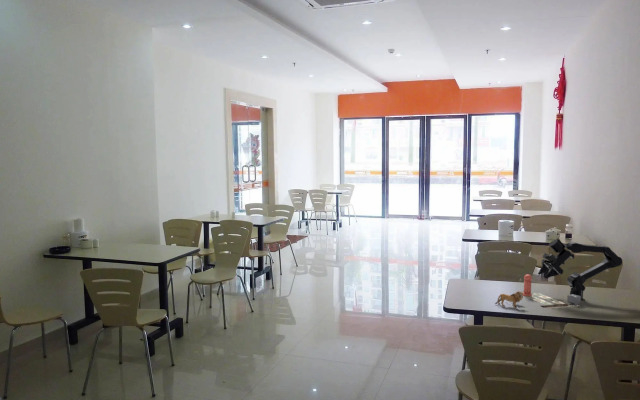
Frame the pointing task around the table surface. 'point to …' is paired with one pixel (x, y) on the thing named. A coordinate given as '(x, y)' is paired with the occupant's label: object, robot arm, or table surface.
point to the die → (574, 299)
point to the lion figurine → (510, 298)
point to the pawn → (527, 285)
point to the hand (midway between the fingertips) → (541, 276)
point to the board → (547, 302)
